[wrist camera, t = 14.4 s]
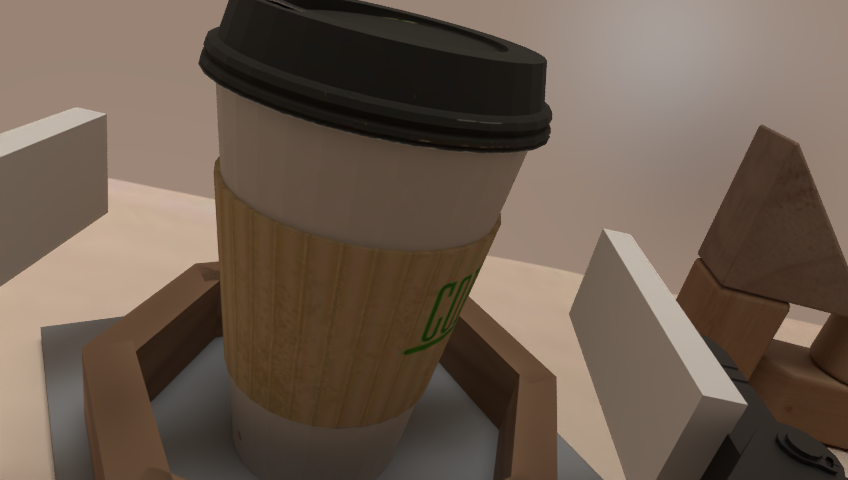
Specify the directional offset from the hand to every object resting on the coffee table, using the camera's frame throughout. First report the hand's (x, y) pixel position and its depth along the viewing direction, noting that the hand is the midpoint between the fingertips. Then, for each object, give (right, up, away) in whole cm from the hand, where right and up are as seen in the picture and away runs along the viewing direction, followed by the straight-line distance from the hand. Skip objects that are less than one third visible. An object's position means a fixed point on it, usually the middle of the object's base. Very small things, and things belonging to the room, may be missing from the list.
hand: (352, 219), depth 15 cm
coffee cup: (-2, -8, +7) cm, 11 cm away
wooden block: (+19, -10, +16) cm, 27 cm away
